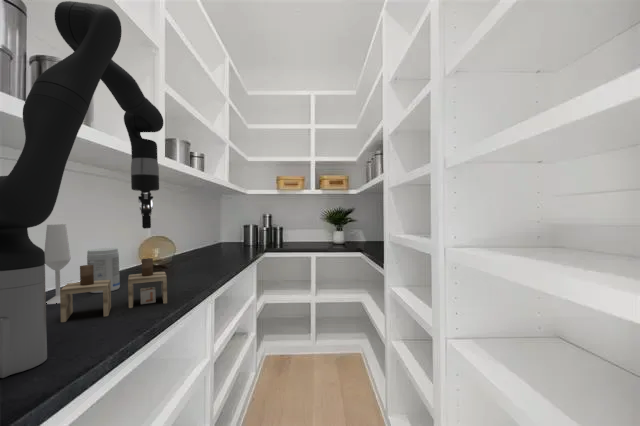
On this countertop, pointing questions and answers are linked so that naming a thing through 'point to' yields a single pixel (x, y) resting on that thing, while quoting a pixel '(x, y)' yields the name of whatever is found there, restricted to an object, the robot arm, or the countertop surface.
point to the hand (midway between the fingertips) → (146, 228)
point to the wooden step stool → (84, 286)
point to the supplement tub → (105, 266)
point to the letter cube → (148, 295)
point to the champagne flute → (56, 254)
